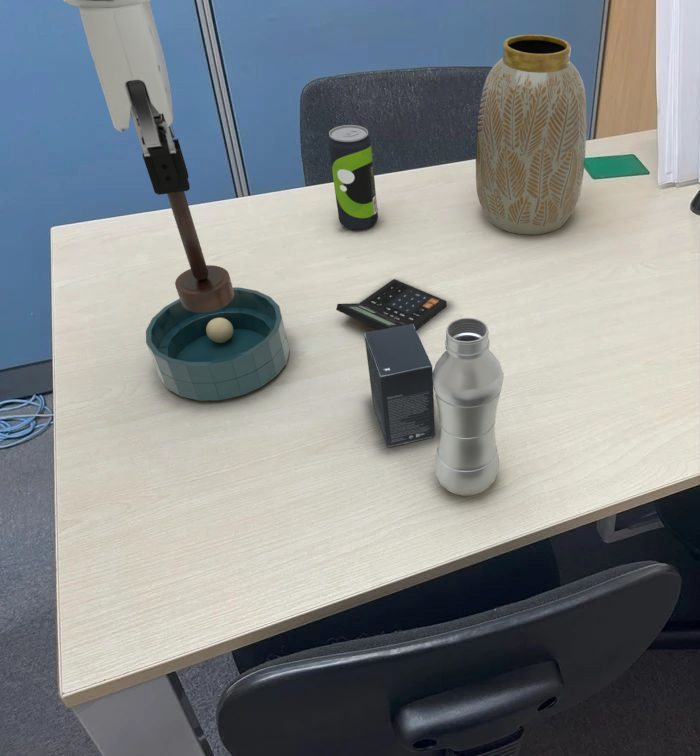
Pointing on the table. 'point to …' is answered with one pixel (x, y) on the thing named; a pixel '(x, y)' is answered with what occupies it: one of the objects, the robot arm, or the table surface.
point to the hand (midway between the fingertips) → (172, 184)
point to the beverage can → (353, 176)
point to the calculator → (395, 307)
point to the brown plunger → (198, 266)
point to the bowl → (219, 347)
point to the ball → (219, 330)
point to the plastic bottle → (467, 408)
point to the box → (401, 384)
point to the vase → (531, 136)
